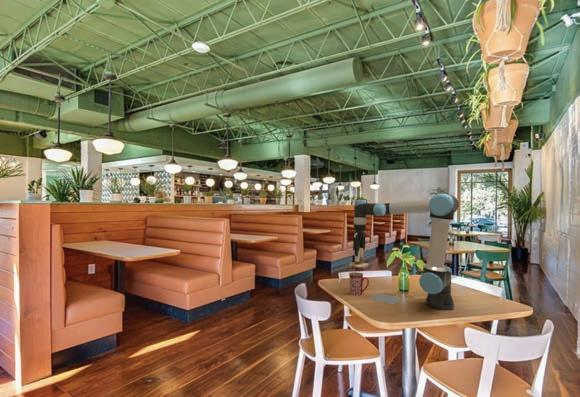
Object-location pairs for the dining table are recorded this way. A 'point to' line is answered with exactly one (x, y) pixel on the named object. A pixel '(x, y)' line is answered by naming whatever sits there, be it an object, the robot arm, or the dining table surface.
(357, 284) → the mug
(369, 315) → the dining table surface
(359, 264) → the lid
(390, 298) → the mat
